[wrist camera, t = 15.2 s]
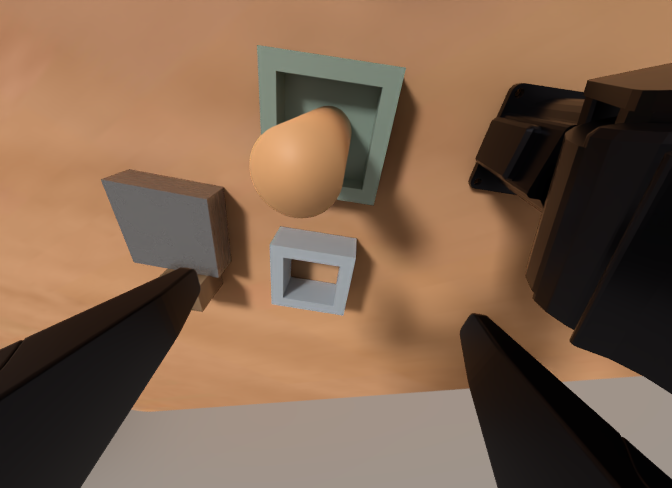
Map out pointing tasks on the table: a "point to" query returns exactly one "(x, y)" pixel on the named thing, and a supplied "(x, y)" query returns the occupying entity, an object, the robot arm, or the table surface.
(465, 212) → the table surface
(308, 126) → the dowel
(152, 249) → the grey slab
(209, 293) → the block
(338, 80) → the tray
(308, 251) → the socket block
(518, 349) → the robot arm
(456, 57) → the table surface
